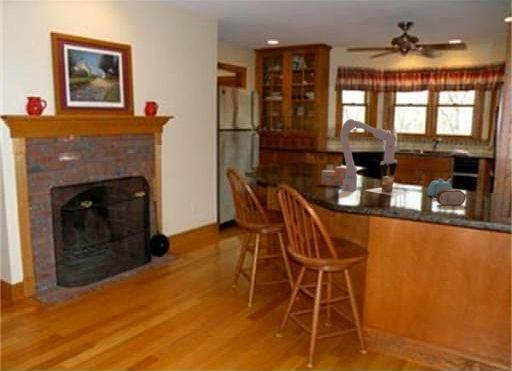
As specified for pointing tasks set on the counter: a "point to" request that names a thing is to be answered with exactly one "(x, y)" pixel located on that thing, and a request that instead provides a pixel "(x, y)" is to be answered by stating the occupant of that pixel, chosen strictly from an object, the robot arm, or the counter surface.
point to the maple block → (388, 180)
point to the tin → (450, 197)
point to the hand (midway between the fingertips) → (388, 175)
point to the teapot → (438, 187)
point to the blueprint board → (393, 193)
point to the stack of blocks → (333, 176)
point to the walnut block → (387, 188)
